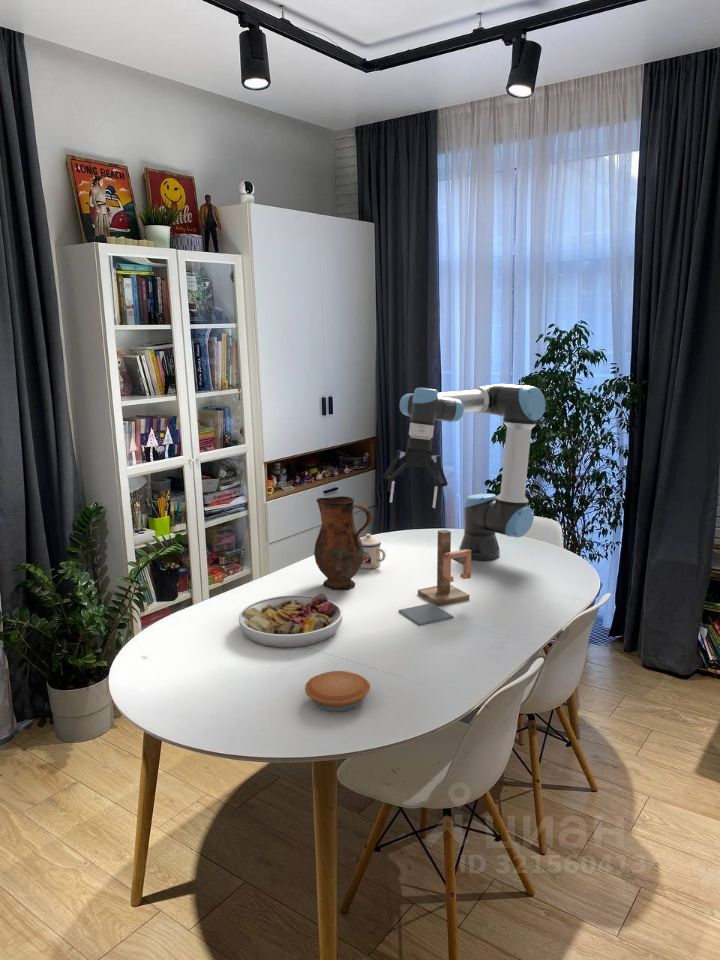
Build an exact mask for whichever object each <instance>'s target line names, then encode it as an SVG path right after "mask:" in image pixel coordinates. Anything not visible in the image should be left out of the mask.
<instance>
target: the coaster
mask: <svg viewBox="0 0 720 960" xmlns="http://www.w3.org/2000/svg"><path fill="white" fill-rule="evenodd" d="M398 612H399V613H400V614H401V615H403V616H404V617H406V618H407V619H409V620H410V621H412V622H413V623H414V624H417V626H423V625H428V624H432V623H436V622H441V621H446V620H450V619H453V618H454V615H453V614H451V613H450V612H448V611H446V610H444V609H443V608H441V607H440V606H437V605H435V604H433V603H432V602H430V603H425V604H420V605H415V606H412V607H406V608H401V609H398Z"/></svg>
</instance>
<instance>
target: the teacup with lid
mask: <svg viewBox="0 0 720 960" xmlns="http://www.w3.org/2000/svg"><path fill="white" fill-rule="evenodd" d="M360 539H361V541H362V545H363V549H364V556H363V562H362V564H361V566H360V568H361V569H376V568H378V567H380V566H381V562H383V561H384V560H385V559H386V557H387V556H386V552H385V550H384V549H383V548H381V544H382V542H381V540H380V538H377V537H374V536H372V533H371V534H370V533H366V534H365V536H363V537H360ZM381 554H382V557H381ZM360 568H359V569H360Z"/></svg>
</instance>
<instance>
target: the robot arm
mask: <svg viewBox="0 0 720 960" xmlns="http://www.w3.org/2000/svg"><path fill="white" fill-rule="evenodd" d="M399 411H400V412H401V413H402V414H403V415H404V416H406V417H410V423H409V428H408V429H409V431H408V435H409V438H407V447H406V451H405V452H404V451H401V450H397V451H396V453H395V454H396V455H395V458H394V459H393V461H392V462H391V464H390V465H389V467H388V468H387V469H386V471H385V473H384V474H383V476H382V478H383V479H384V480H385V481H386V480H387V482H388V483H387V489H386V490H387V492H390V495H389V496H390V497H389V503H393V498H394V497H393V496H394V489H395V481H394V480H395V479H396V478H397V477H398V476H399V475H400V474H401V473H403V471H404V470H405V469H407V468H408V467H409V466H410V467H412V468H419V469H422V468H425V469H426V471H427V472H428V474H429V475H430V477H431V478H432V479H433V480H432V481H434V483H435V484H436V485H437V486H434V491H433V500H432V508H433V509H436V503H437V498H441V493H442V488H443V487H448V485H449V484H448V480H447V478H446V476H445V473H444V470H443V466H442V464H441V456H440V455H432V447H433V440H432V438H433V437H434V430H435V422H436V421H441V422H442V421H443V422H448V423H451V422H459V420H461V419H462V418H463V415H464V413H469V412H471V413H472V412H473V413H476V414H488V415H495V416H499V417H500V416H501V417H503V419H502V420H503V421H502V423H503V424H504V425H505V427H506V433H505V444H504V455H503V462H502V463H503V464H502V476H501V485H500V493H499V494H497V495H496V494H495V493H477V494H471V495H468V496H467V497H466V498H465V500H464V501H465V502H464V522H463V523H464V525H463V526H464V532H463V533H464V535H463V537H462V540H461V542H460V543H461V544H460V545H459V550H464V549H469V550H471V560H473V561H489V560H494V559H495V560H496V559H497V558H498V557H500V553H501V550H500V546H499V543H498V539H497V537H496V536H497V535H496V534H499V535H500V534H501V535H504V536H506V537H510V538H511V537H512V538H516V539H517V538H523V536H525V535H527V533H528V532H529V531H531V530H530V529H531V528H532V526H533V523H534V518H535V516H534V515H535V514H534V511H533V509H532V508H531V507H529V499H528V498H527V497H526V487H527V485H526V484H527V475H528V468H529V456H530V447H531V436H532V429H533V428H534V427H535V426H537V423H538V422H537V421H538V420H540V419H542V417H544V416H543V415H544V414H545V412H546V399H545V395H544V394H543V392H542V391H541V389H540V388H539V387H536V386H532V385H527V384H512V383H511V384H509V383H496V384H495V383H494V384H489V385H488V384H487V385H483V386H475V387H473V388H472V389H471V390H467V389H466V390H457V391H443V392H442V391H441V392H439V391H438V390H437V389H433V388H427V387H417V388H415V389H414V393H406V394H404V395H403V396H401V398H400V400H399ZM403 457H405V460H406V462H404V463H403V464H402V465H401V466H400V467H399V468H398V469H396V471H395V472H394V473H392V474H391V475H390V473H391V472H392V471H393V469H394V468H395V466H396V465H397V463H398V461H399V460H400V459H402V458H403ZM432 460H433V462H434V463H436V467H437V469H438V472H439V476H440V477H441V481H442V482H441V481H440V479H439V478H438V477H437V475H436V474H435V472H434V471H433V469H432V468H431V466H430V465H429V463H430V462H431V461H432ZM459 550H458V551H459Z"/></svg>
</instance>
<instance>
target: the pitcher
mask: <svg viewBox="0 0 720 960" xmlns="http://www.w3.org/2000/svg"><path fill="white" fill-rule="evenodd" d="M316 502H317V505H318V509H319V512H320V518H321V519H320V520H321V526H320V530H319V532H318V536H317V538H316V541H315V545H314V549H313V550H314V552H313V555H314V560H315V565H316V566H317V567H318V569H319V571H320V572H321V573H322V574H323V575H324V576H325V577H326V579H325V580H324V581H323V586H324V587H325V588H327V589H329V590H332V591H348V590H351V589H354V588H355V587H356V582H355V581H354V580H352V578H353V577H354V576H356V575H357V573H358V572H359V570H360V566H361V564H362V562H363V556H364V549H363V545H362V541H361V537H360V533H362V531H363V530H365V528H367V527H368V526H369V525H370V524H371V521H372V513H371V511H370V509H369V508H368V507H367V506H365V505H363V504H360V503H358V504H356V503H355V504H354V502H355V499H354V498H352V497H349V496H343V495H341V496H333V497H332V496H331V497H319V498H317V499H316ZM354 508H357V509H360V510H361V511H363V512H364V513H365V515H366V522H365V523H364V524H363V526H362V527H361V528H360V529H358V530H357V527H356V524H355V518H354Z"/></svg>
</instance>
